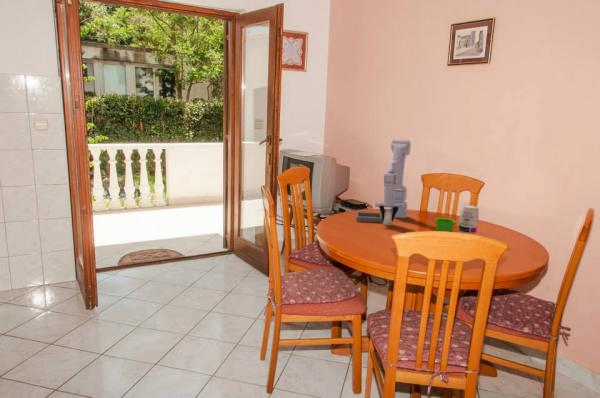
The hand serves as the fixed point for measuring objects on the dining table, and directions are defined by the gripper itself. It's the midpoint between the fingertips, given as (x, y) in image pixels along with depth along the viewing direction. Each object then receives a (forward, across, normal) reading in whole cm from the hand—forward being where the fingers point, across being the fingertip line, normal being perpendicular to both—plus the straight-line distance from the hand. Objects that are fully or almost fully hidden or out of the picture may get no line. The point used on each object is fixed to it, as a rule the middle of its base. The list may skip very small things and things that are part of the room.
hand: (387, 220), depth 226 cm
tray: (+2, -9, +9) cm, 13 cm away
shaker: (+2, 0, 0) cm, 2 cm away
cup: (+2, +22, -30) cm, 37 cm away
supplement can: (+2, +37, -15) cm, 40 cm away
